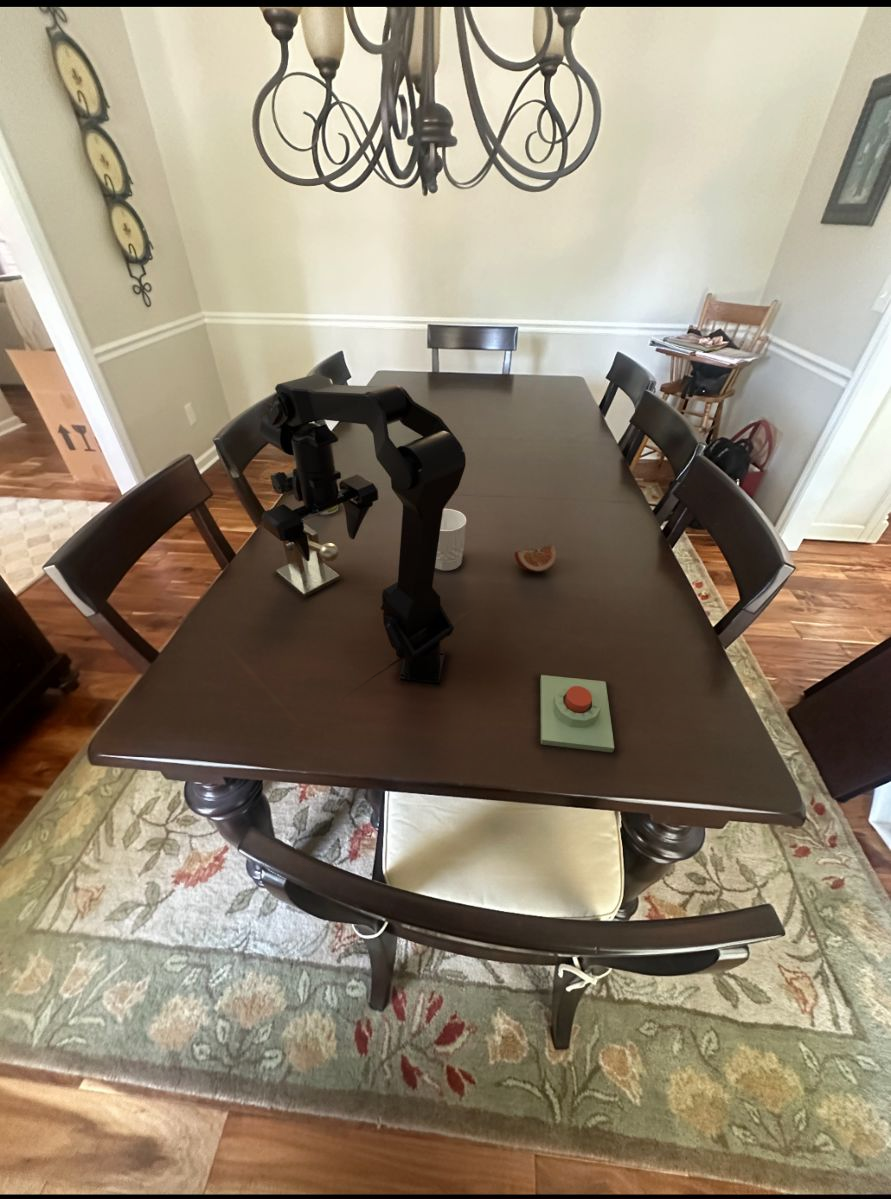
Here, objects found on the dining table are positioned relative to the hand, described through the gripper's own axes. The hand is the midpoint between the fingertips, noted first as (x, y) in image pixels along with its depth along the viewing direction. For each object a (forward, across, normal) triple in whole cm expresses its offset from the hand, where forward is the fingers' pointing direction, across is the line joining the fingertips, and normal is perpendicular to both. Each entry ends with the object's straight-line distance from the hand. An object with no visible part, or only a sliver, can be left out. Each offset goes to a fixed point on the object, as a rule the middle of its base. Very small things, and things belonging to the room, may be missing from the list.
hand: (330, 548), depth 88 cm
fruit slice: (+12, -34, +19) cm, 41 cm away
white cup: (+12, -23, +5) cm, 26 cm away
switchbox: (+12, -10, +46) cm, 48 cm away
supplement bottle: (+12, -17, -28) cm, 35 cm away
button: (+9, -10, +46) cm, 48 cm away
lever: (+3, 0, -4) cm, 6 cm away
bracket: (+12, 0, -10) cm, 15 cm away
